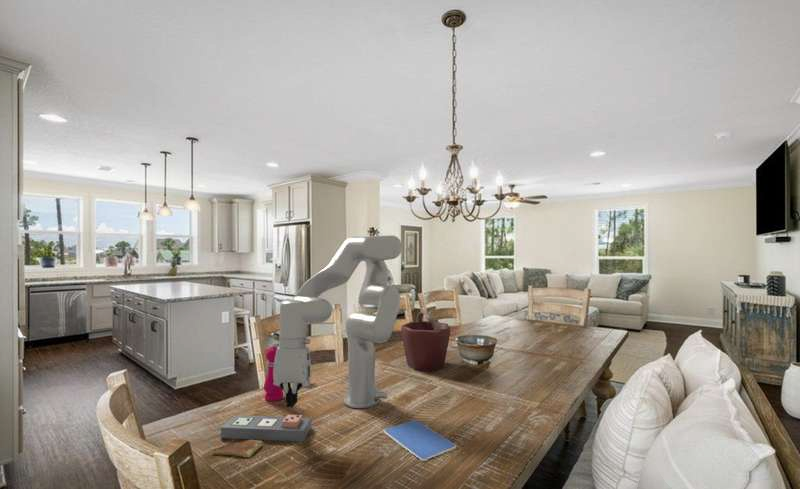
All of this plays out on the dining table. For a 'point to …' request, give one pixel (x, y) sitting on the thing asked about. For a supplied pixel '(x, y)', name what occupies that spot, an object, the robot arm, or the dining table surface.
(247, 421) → the key two pips
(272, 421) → the key one pip
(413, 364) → the bucket
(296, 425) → the key three pips
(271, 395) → the pepper mill
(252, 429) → the key panel
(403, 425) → the tablet computer
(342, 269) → the robot arm
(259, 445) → the shard
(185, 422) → the dining table surface
